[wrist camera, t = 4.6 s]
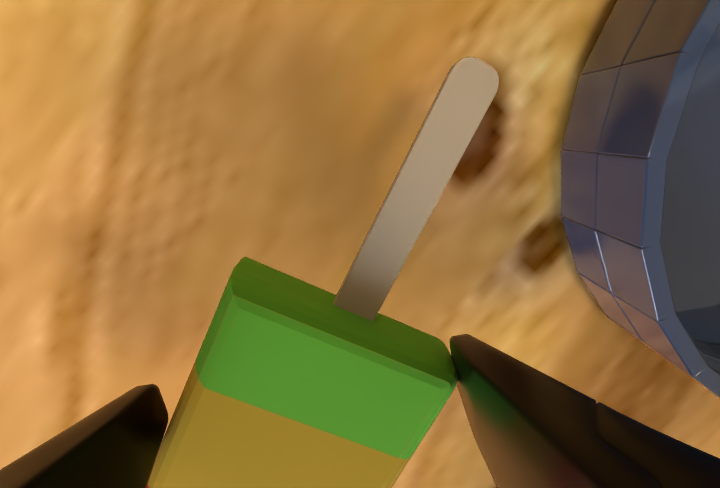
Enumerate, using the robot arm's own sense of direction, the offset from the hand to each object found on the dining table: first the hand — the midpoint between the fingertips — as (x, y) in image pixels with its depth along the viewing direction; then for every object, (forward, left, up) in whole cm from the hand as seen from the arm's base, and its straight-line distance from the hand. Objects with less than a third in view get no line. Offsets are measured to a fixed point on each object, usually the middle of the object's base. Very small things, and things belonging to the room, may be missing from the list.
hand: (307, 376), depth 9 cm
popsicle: (0, 0, -1) cm, 1 cm away
